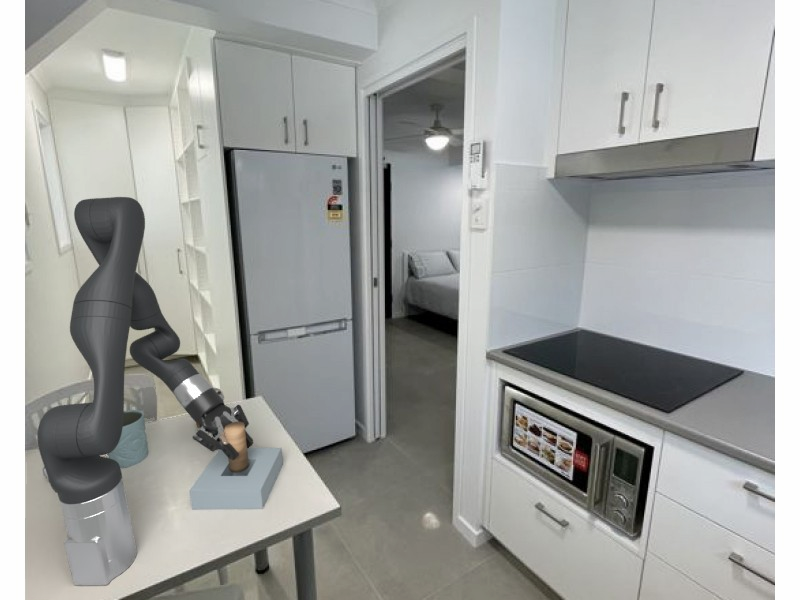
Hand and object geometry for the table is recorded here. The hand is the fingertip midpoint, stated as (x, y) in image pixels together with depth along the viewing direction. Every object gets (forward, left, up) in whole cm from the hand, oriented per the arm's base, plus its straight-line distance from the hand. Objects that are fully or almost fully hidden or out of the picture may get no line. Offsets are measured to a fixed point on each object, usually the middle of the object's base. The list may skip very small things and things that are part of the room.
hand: (243, 451), depth 95 cm
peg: (+1, +2, -5) cm, 5 cm away
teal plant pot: (+11, +37, -10) cm, 40 cm away
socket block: (0, +2, -10) cm, 10 cm away
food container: (+28, +21, -10) cm, 37 cm away
